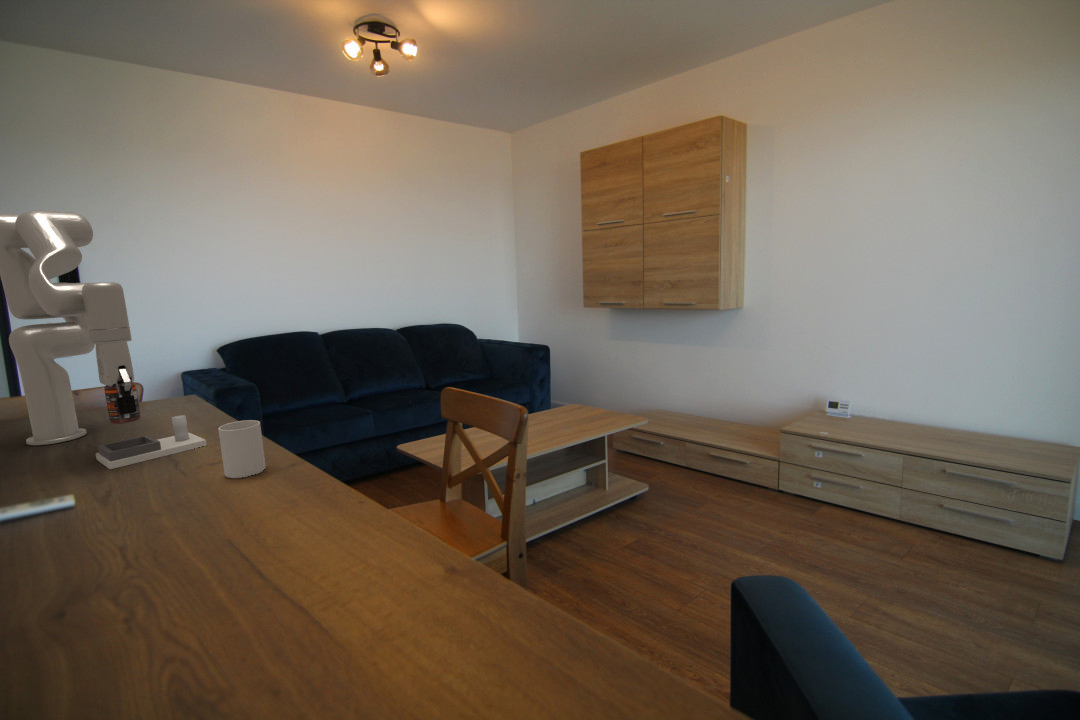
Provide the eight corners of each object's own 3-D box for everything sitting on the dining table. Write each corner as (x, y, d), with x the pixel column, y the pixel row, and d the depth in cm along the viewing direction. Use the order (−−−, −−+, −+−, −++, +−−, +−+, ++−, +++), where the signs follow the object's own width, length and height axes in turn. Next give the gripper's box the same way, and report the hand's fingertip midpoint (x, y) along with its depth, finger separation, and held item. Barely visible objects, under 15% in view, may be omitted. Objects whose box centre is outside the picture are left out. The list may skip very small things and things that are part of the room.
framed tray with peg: (96, 459, 132) (91, 429, 130) (189, 437, 147) (185, 410, 145) (109, 469, 124) (104, 437, 123) (206, 445, 139) (202, 417, 138)
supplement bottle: (103, 424, 128) (95, 376, 127) (129, 417, 134) (121, 372, 132) (122, 425, 127) (113, 377, 125) (147, 418, 132) (139, 372, 130)
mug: (271, 470, 119) (266, 423, 117) (232, 481, 113) (225, 432, 111) (250, 459, 127) (244, 415, 125) (212, 469, 121) (206, 423, 120)
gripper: (81, 337, 130) (95, 410, 133) (100, 339, 119) (114, 420, 122) (120, 333, 135) (132, 404, 138) (141, 335, 124) (154, 412, 127)
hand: (124, 410), depth 130 cm, fingers closed on supplement bottle, 5 cm apart
